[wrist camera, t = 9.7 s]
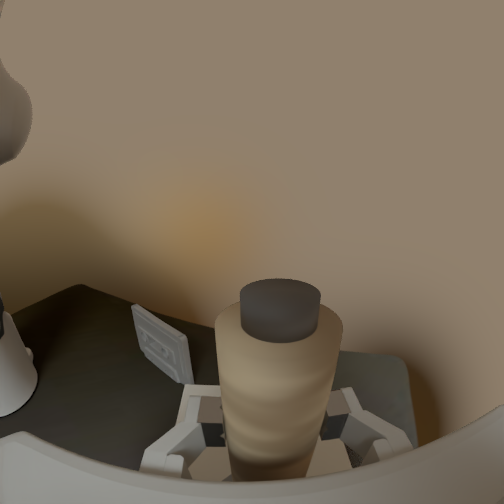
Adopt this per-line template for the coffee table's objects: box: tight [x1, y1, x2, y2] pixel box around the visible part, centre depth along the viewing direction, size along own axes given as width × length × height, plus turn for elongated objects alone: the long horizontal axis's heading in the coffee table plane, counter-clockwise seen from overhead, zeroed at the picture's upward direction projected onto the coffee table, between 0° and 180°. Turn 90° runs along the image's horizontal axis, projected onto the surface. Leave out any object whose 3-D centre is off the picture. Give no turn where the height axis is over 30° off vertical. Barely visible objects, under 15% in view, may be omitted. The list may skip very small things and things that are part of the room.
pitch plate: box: [176, 384, 352, 482], centre depth 18 cm, size 16×20×10 cm
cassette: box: [131, 304, 194, 385], centre depth 32 cm, size 12×2×8 cm, turn 51°
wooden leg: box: [215, 279, 343, 482], centre depth 10 cm, size 4×4×13 cm
